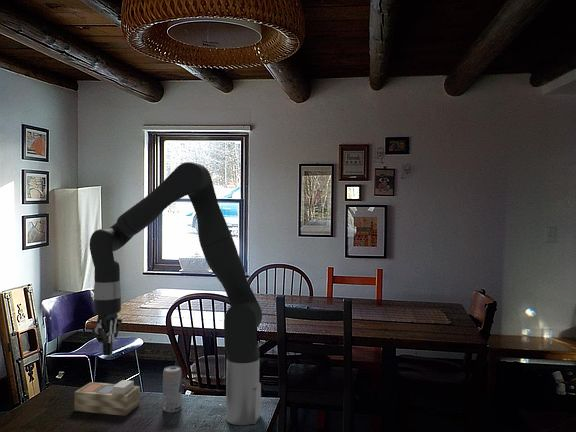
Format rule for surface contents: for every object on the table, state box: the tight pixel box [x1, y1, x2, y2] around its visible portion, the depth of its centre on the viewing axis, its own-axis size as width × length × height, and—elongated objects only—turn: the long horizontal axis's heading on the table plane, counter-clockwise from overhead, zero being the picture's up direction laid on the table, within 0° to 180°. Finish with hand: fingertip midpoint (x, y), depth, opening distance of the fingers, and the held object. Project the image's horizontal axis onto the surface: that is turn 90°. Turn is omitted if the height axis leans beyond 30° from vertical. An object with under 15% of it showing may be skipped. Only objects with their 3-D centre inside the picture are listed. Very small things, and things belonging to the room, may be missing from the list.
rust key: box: [82, 384, 103, 392], centre depth 150 cm, size 4×6×3 cm, turn 169°
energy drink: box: [162, 365, 183, 413], centre depth 148 cm, size 5×5×12 cm
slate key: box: [97, 385, 113, 394], centre depth 149 cm, size 4×6×3 cm, turn 169°
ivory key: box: [113, 379, 135, 395], centre depth 148 cm, size 4×6×3 cm, turn 169°
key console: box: [74, 381, 141, 417], centre depth 149 cm, size 16×8×6 cm, turn 79°
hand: (107, 354), depth 148 cm, fingers closed
